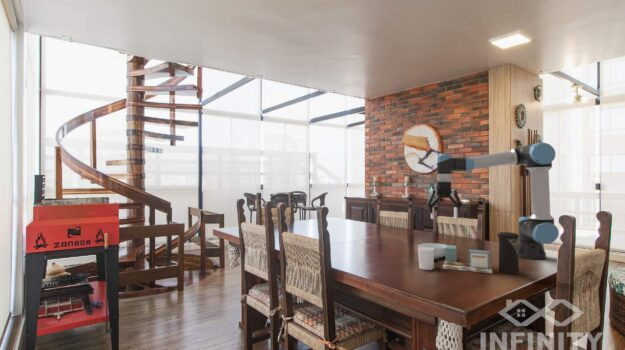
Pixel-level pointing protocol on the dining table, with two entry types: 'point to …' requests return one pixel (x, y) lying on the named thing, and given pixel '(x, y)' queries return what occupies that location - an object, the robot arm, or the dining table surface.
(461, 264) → the shelf
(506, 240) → the container
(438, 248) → the cereal bowl
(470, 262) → the faced tea box
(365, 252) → the dining table surface
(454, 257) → the tea box
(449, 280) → the dining table surface
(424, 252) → the white cup
